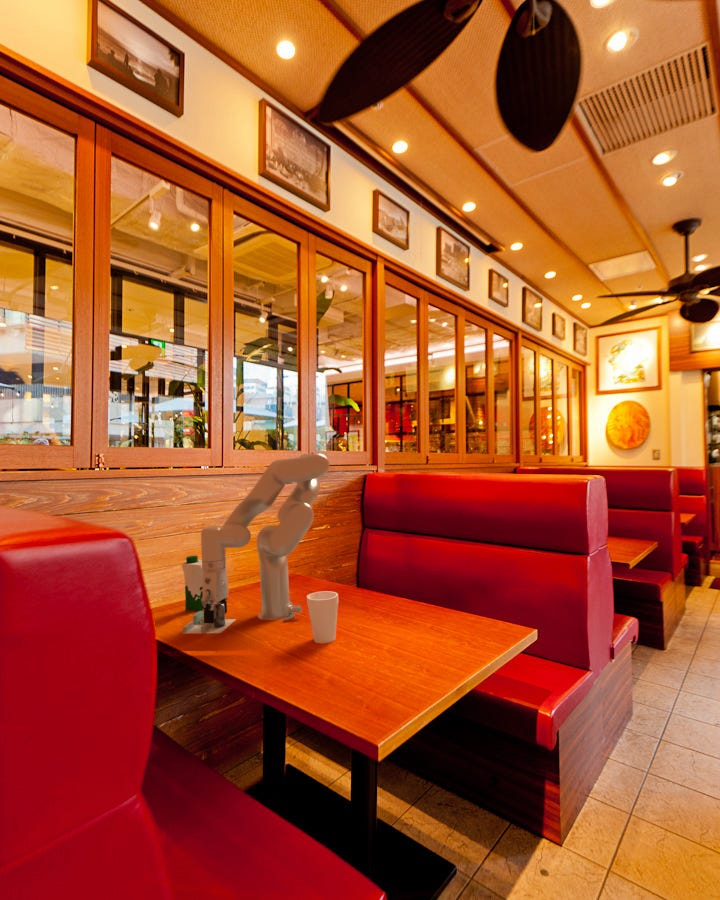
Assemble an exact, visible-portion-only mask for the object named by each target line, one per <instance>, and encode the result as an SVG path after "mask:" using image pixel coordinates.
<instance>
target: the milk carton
mask: <svg viewBox="0 0 720 900" xmlns="http://www.w3.org/2000/svg"><path fill="white" fill-rule="evenodd" d="M185 560H186V562H184V563H182V564H181V568H182V571H183V576H184V593H185V596H184V597H185V602H184V603H185V610H184V611H185V612H186V611H189V612H190V611H191V612H199V611H203V607H202V602H201V599H202V597H203V571H202V559H199V557H198V555H188V556H186V559H185ZM209 605H211V604H209ZM203 612H204V611H203Z"/></svg>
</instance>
